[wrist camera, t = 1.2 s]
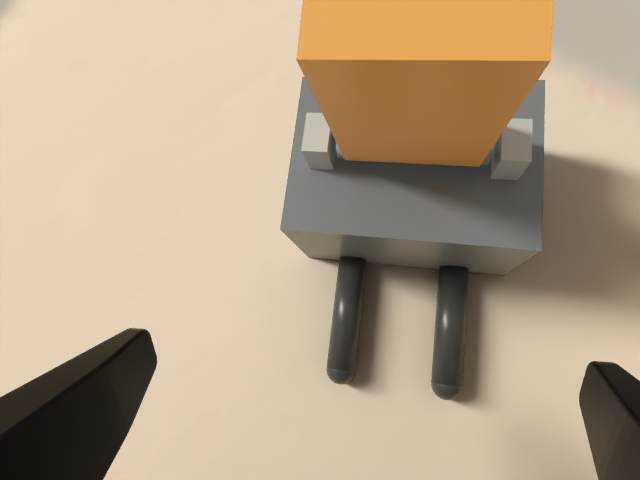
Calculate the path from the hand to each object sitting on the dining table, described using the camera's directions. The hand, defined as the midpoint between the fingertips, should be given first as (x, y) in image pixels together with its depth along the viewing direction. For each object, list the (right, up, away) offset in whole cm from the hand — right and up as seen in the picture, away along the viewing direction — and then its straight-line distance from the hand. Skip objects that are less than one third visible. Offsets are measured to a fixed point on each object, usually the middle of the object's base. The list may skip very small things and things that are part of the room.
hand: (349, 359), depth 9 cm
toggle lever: (+3, +6, +8) cm, 10 cm away
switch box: (+4, +1, +14) cm, 15 cm away
